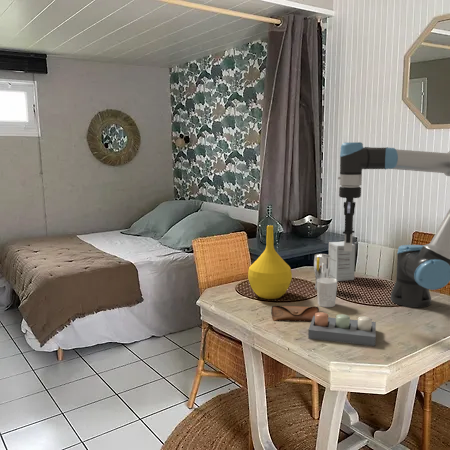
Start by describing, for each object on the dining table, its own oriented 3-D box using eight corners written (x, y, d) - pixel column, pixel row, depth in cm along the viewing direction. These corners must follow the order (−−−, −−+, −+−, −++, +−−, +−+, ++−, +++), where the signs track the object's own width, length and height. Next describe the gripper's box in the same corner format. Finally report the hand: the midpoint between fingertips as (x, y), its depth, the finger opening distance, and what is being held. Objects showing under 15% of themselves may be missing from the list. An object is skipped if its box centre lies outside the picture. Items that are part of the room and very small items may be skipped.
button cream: (371, 328, 155) (371, 317, 155) (371, 333, 151) (371, 321, 151) (357, 327, 157) (358, 315, 156) (357, 332, 153) (357, 320, 152)
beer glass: (331, 287, 206) (332, 254, 204) (326, 292, 200) (327, 258, 198) (317, 285, 210) (317, 253, 207) (311, 289, 204) (311, 256, 201)
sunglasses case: (271, 321, 168) (271, 303, 171) (271, 324, 175) (271, 306, 177) (322, 322, 167) (321, 303, 169) (319, 325, 174) (318, 307, 176)
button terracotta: (328, 324, 160) (328, 312, 159) (327, 328, 156) (327, 317, 155) (315, 322, 161) (315, 311, 160) (314, 327, 157) (314, 316, 156)
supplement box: (354, 280, 217) (356, 244, 214) (336, 281, 215) (337, 246, 212) (345, 274, 226) (346, 240, 224) (327, 276, 224) (328, 241, 222)
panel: (375, 330, 159) (375, 321, 159) (375, 345, 147) (375, 337, 147) (313, 323, 166) (313, 315, 165) (308, 338, 154) (308, 329, 153)
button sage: (349, 326, 158) (350, 315, 157) (349, 331, 153) (349, 319, 153) (336, 324, 159) (336, 313, 158) (335, 329, 155) (335, 318, 154)
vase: (300, 296, 195) (301, 226, 190) (266, 305, 185) (267, 231, 179) (272, 286, 210) (272, 220, 204) (239, 294, 199) (238, 225, 194)
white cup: (336, 308, 181) (337, 283, 179) (316, 307, 182) (316, 282, 180) (336, 301, 188) (337, 278, 186) (316, 300, 190) (316, 277, 188)
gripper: (340, 184, 173) (338, 246, 177) (338, 187, 161) (336, 254, 165) (361, 184, 171) (359, 247, 175) (360, 188, 159) (358, 255, 163)
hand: (347, 250), depth 170 cm, fingers closed
